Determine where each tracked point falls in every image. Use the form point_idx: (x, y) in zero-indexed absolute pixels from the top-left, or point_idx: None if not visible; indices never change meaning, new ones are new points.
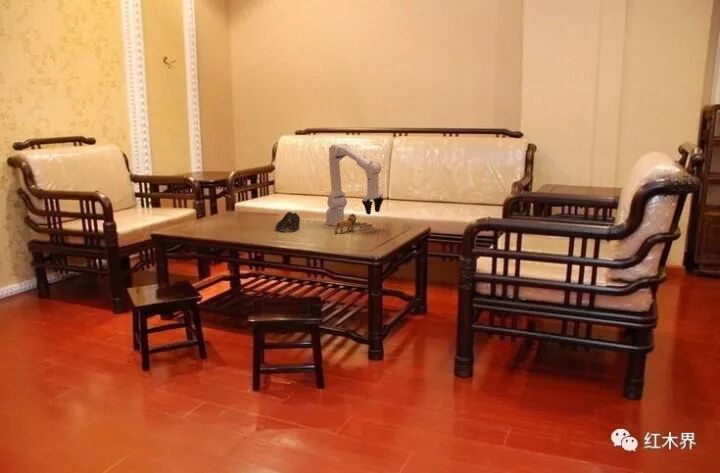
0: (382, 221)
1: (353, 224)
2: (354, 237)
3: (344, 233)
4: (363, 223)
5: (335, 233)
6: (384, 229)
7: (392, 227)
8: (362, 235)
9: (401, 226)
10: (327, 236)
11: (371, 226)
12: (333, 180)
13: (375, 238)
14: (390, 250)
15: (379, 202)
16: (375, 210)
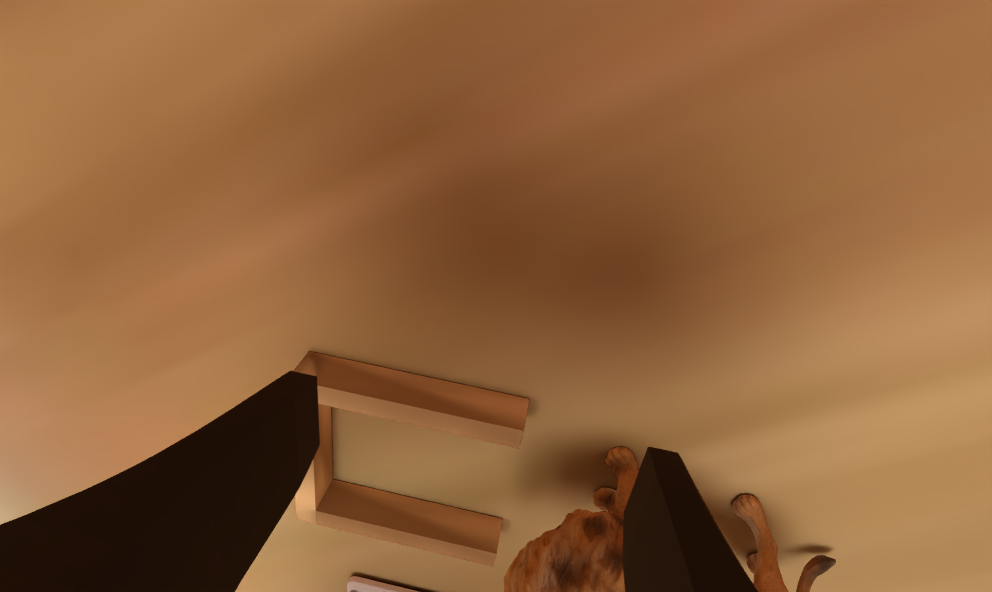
0: (20, 359)
1: (622, 518)
2: (946, 338)
3: (746, 495)
4: (317, 465)
5: (835, 560)
6: (311, 174)
7: (144, 126)
8: (787, 292)
9: (3, 31)
10: (943, 584)
11: (322, 362)
12: None
13: (969, 14)
14: None
15: (124, 585)
16: (307, 462)
